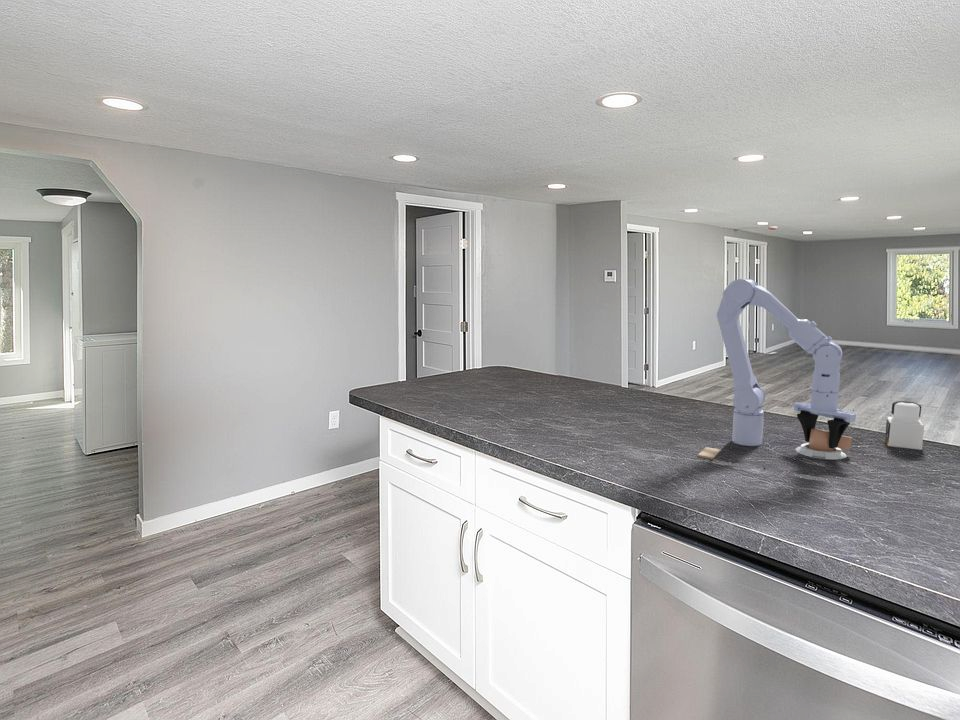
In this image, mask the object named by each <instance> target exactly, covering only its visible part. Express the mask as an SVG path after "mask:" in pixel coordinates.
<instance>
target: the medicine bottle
mask: <svg viewBox="0 0 960 720" xmlns="http://www.w3.org/2000/svg"><path fill="white" fill-rule="evenodd" d="M921 413H922V406H921V404H920V403H919V404H918V403H917V402H914V401H907V400H898V401H894V402H892V405H891V413H890V414H891V416H887V417H886V423H885V424H886V425H885V436H884V443H886V445H887V447H894V448H903V449H910V450H911V449H912V450H918V451H919V450H922V449H923V441H924V430H925V425H924V424H923V422H922V421H921V415H922V414H921Z"/></svg>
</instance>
